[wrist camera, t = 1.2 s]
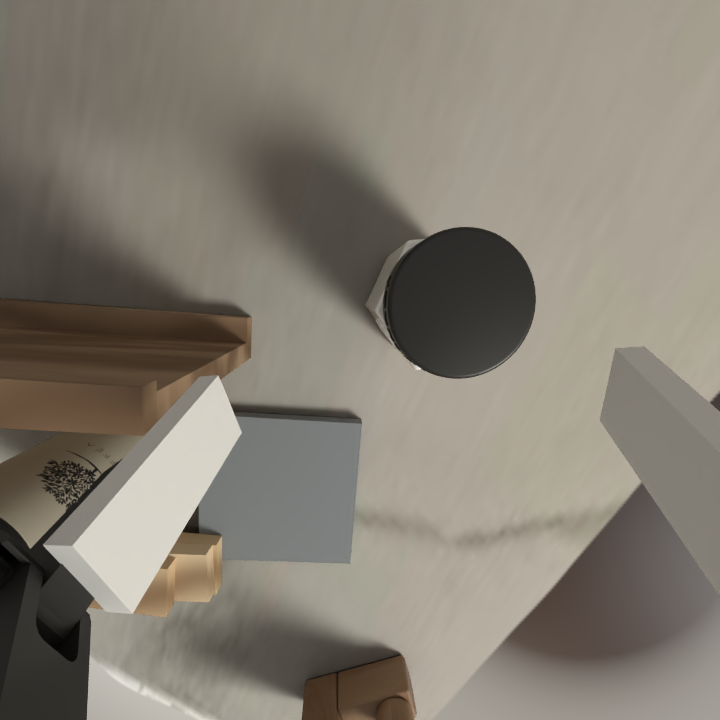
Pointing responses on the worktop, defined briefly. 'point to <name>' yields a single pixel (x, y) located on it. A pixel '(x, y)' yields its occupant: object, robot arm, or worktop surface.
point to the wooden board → (107, 363)
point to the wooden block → (362, 693)
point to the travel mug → (54, 480)
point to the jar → (455, 301)
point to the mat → (286, 490)
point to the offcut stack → (184, 575)
